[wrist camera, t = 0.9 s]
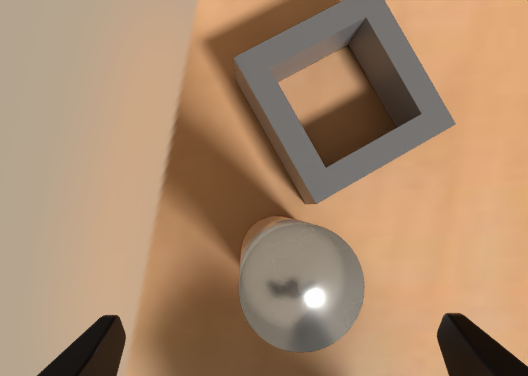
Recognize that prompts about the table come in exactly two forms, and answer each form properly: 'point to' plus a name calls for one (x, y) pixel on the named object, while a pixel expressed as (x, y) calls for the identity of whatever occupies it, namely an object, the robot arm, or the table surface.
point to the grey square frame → (378, 73)
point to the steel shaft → (298, 284)
